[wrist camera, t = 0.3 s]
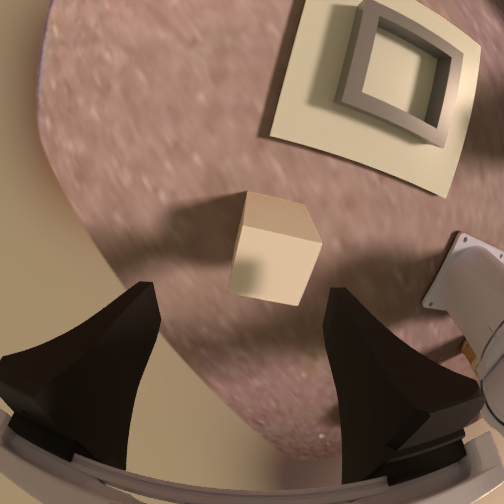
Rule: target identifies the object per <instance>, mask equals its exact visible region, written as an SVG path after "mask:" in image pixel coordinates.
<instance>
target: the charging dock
mask: <svg viewBox="0 0 504 504" xmlns="http://www.w3.org/2000/svg"><path fill="white" fill-rule="evenodd" d="M480 52H481V46H480V45H478V44H477V43H476V42H475V41H474V40H472V39H471V38H470V37H469V36H467V35H466V34H465V33H463V32H462V31H461V30H459V29H458V28H457V27H455V26H454V25H453V24H451V23H450V22H448V21H447V20H446V19H444V18H443V17H441V16H440V15H438V14H437V13H435V12H433V11H432V10H430V9H429V8H427V7H425V6H424V5H422V4H420V3H419V2H417V1H415V0H305V4H304V7H303V11H302V14H301V18H300V22H299V25H298V29H297V33H296V36H295V40H294V44H293V47H292V51H291V55H290V58H289V62H288V66H287V70H286V73H285V77H284V81H283V85H282V89H281V92H280V96H279V100H278V104H277V108H276V111H275V115H274V119H273V123H272V127H271V131H270V136H272V137H276V138H280V139H284V140H288V141H292V142H295V143H299V144H302V145H306V146H309V147H313V148H316V149H320V150H323V151H326V152H329V153H332V154H335V155H338V156H342V157H345V158H347V159H350V160H353V161H356V162H359V163H362V164H365V165H367V166H370V167H373V168H375V169H378V170H381V171H383V172H386V173H388V174H391V175H393V176H396V177H398V178H401V179H403V180H405V181H408V182H410V183H413V184H415V185H417V186H419V187H422V188H424V189H426V190H428V191H430V192H433V193H435V194H437V195H439V196H441V197H443V198H445V199H446V196H447V194H448V191H449V188H450V185H451V182H452V180H453V177H454V174H455V171H456V168H457V164H458V161H459V158H460V155H461V151H462V148H463V144H464V140H465V137H466V133H467V129H468V125H469V120H470V116H471V111H472V107H473V102H474V96H475V91H476V84H477V78H478V71H479V62H480Z"/></svg>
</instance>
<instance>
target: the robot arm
mask: <svg viewBox="0 0 504 504" xmlns="http://www.w3.org/2000/svg"><path fill="white" fill-rule="evenodd" d="M464 238H465V239H464ZM422 305H423V307H425V308H431V309H437V310H443V311H447V312H448V313H449V315H450V316H451V318H452V319H453V320H454V322H455V323H456V325H457V326H458V328H459V329H460V331H461V332H462V334H463V335H464V337H465V338H466V340H467V341H468V343H469V345H470V346H471V348H472V349H473V351H474V353H475V354H476V356H477V357H478V359H479V361H480V362H481V363H480V364H479V366H478V367H477V368H476V371H477V372H478V374H479V376H480V379H479V381H478V382H477V381H476V380H474V379H471V378H469V377H466V376H463V375H461V374H458V373H456V372H453V371H451V370H449V369H447V368H445V367H443V366H441V365H439V364H437V363H436V362H434V361H432V360H430V359H428V358H427V357H425V356H424V355H422V354H420V353H419V352H417V351H416V350H414V349H413V348H411V347H410V346H409V345H407V344H406V343H405V342H403V341H402V340H400V339H399V338H398V337H397V336H395V335H394V334H393V333H392V332H391V331H390V330H388V329H387V328H386V327H385V326H384V325H383V324H382V323H380V322H379V321H378V320H377V319H376V318H375V317H374V316H373V315H372V314H371V313H370V312H369V311H368V310H367V309H366V308H365V307H364V306H363V305H362V304H361V303H360V302H359V301H358V300H357V299H356V298H355V297H354V296H353V295H352V294H351V293H350V292H349V291H348V290H347V289H346V288H331V289H330V294H329V298H328V303H327V308H326V313H325V317H324V322H323V333H324V341H325V347H326V351H327V355H328V359H329V363H330V367H331V371H332V375H333V379H334V383H335V387H336V391H337V396H338V402H339V411H340V422H341V435H342V485H337V486H331V487H323V488H313V489H301V490H282V491H249V490H230V489H217V488H207V487H199V486H192V485H186V484H180V483H174V482H169V481H164V480H159V479H154V478H150V477H146V476H142V475H138V474H134V473H131V472H127V471H125V470H126V457H127V443H128V436H129V429H130V422H131V417H132V412H133V406H134V402H135V397H136V393H137V389H138V386H139V383H140V380H141V378H142V375H143V372H144V370H145V367H146V365H147V362H148V359H149V357H150V355H151V352H152V349H153V347H154V344H155V342H156V339H157V335H158V331H159V327H160V323H161V316H160V312H159V308H158V303H157V299H156V294H155V290H154V285H153V282H142V281H140V282H138V283H137V284H135V285H134V286H132V287H131V288H130V289H128V290H127V291H126V292H125V293H123V294H122V295H120V296H119V297H118V298H117V299H115V300H114V301H113V302H111V303H110V304H109V305H107V306H106V307H105V308H103V309H102V310H101V311H99V312H98V313H96V314H95V315H94V316H92V317H91V318H89V319H88V320H86V321H85V322H83V323H82V324H80V325H79V326H77V327H75V328H74V329H72V330H70V331H68V332H66V333H65V334H63V335H61V336H58V337H56V338H54V339H52V340H50V341H48V342H46V343H44V344H41V345H39V346H36V347H33V348H30V349H28V350H25V351H21V352H18V353H14V354H11V355H7V356H3V357H2V358H1V360H0V397H1V398H2V399H3V400H4V402H5V403H6V404H7V405H8V406H9V407H10V408H11V409H12V410H13V411H14V414H13V416H12V417H11V416H10V415H8V414H7V413H6V412H5V411H3V410H1V409H0V472H1V473H2V474H3V475H5V476H6V477H7V478H8V479H10V480H11V481H12V482H13V483H15V484H16V485H17V486H18V487H20V488H21V489H23V490H24V491H25V492H27V493H28V494H29V495H31V496H32V497H34V498H35V499H37V500H38V501H40V502H41V503H43V504H146V503H143V502H141V501H139V500H137V499H135V498H134V497H132V496H131V495H130V494H127V493H124V492H122V491H119V490H117V489H114V488H112V487H109V486H107V485H110V486H113V487H116V488H118V489H122V490H125V491H128V492H132V493H135V494H139V495H143V496H146V497H150V498H154V499H159V500H163V501H168V502H173V503H178V504H472V503H474V502H476V501H477V500H479V499H480V498H482V497H484V496H485V495H487V494H488V493H490V492H491V491H492V490H494V489H496V488H497V487H498V486H500V485H501V484H502V483H504V467H503V464H502V461H501V458H500V455H499V452H498V449H497V447H496V444H495V441H494V439H493V436H492V434H491V432H490V431H489V432H486V433H485V434H483V435H481V436H479V437H477V438H474V439H472V440H471V441H469V442H467V443H466V444H465V445H464V444H463V441H462V438H464V437H465V432H464V429H463V428H464V427H465V426H466V425H467V424H468V423H469V422H470V421H471V420H472V419H473V418H474V417H475V416H476V415H477V414H478V413H479V411H480V413H481V415H482V416H483V418H484V419H485V421H486V422H487V423H488V424H489V425H490V426H491V427H492V428H494V429H496V430H497V431H498V432H499V433H500V434H501V435H502V436H503V437H504V251H502V250H500V249H498V248H496V247H494V246H492V245H490V244H488V243H486V242H484V241H481V240H479V239H477V238H475V237H473V236H471V235H469V234H466V233H464V232H459V233H458V234H457V236H456V238H455V240H454V242H453V245H452V247H451V249H450V251H449V253H448V255H447V257H446V259H445V261H444V263H443V265H442V267H441V269H440V271H439V273H438V274H437V276H436V278H435V280H434V282H433V284H432V285H431V287H430V289H429V291H428V292H427V294H426V296H425V298H424V299H423V301H422ZM106 484H107V485H106Z"/></svg>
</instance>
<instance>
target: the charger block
mask: <svg viewBox="0 0 504 504" xmlns="http://www.w3.org/2000/svg"><path fill="white" fill-rule="evenodd" d="M322 244H323V243H322V241H321V239H320V237H319V234H318V232H317V230H316V228H315V226H314V223H313V221H312V219H311V217H310V215H309V213H308V211H307V208H306V206H305V205H304V204H300V203H296V202H292V201H288V200H284V199H280V198H276V197H272V196H268V195H264V194H259V193H255V192H251V191H247V195H246V199H245V203H244V208H243V212H242V216H241V220H240V225H239V229H238V233H237V238H236V242H235V247H234V253H233V259H232V265H231V271H230V277H229V284H228V290H227V293H232V294H237V295H242V296H247V297H252V298H257V299H262V300H267V301H272V302H278V303H283V304H289V305H294V306H298V305H299V302H300V300H301V297H302V295H303V293H304V290H305V288H306V285H307V283H308V280H309V278H310V275H311V273H312V270H313V268H314V265H315V263H316V260H317V257H318V255H319V252H320V249H321V247H322Z"/></svg>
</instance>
